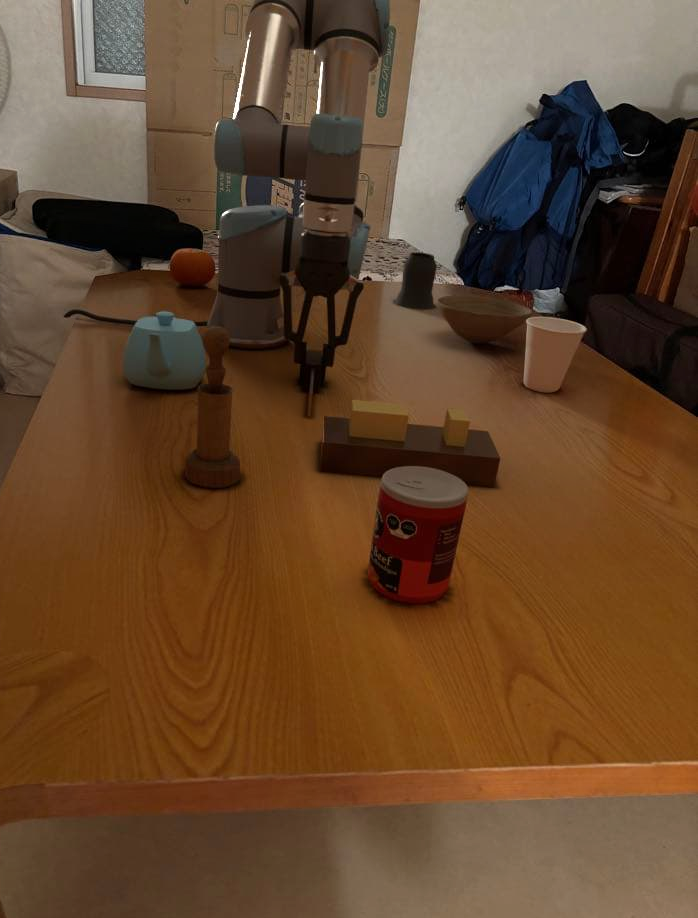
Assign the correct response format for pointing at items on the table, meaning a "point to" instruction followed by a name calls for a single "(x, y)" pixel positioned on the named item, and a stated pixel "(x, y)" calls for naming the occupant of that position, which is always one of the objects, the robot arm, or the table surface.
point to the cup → (549, 351)
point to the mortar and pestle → (213, 421)
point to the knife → (312, 374)
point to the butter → (378, 420)
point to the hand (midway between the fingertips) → (311, 383)
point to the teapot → (164, 353)
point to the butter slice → (456, 427)
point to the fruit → (192, 267)
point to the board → (408, 453)
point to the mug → (417, 281)
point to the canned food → (416, 533)
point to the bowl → (481, 317)
